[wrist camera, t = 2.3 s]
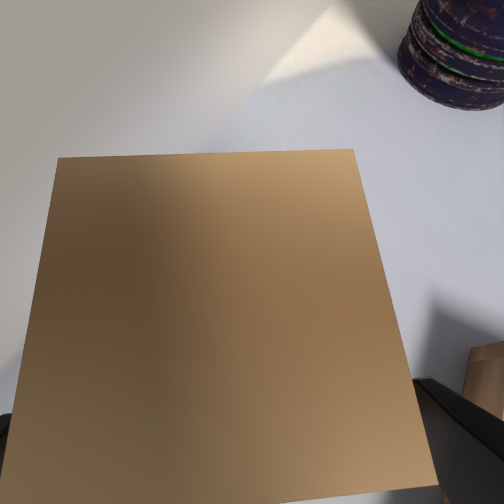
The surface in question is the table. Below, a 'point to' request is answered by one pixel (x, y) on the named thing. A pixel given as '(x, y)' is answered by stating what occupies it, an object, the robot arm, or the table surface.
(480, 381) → the socket box
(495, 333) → the table surface
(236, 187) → the peg
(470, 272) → the table surface
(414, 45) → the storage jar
